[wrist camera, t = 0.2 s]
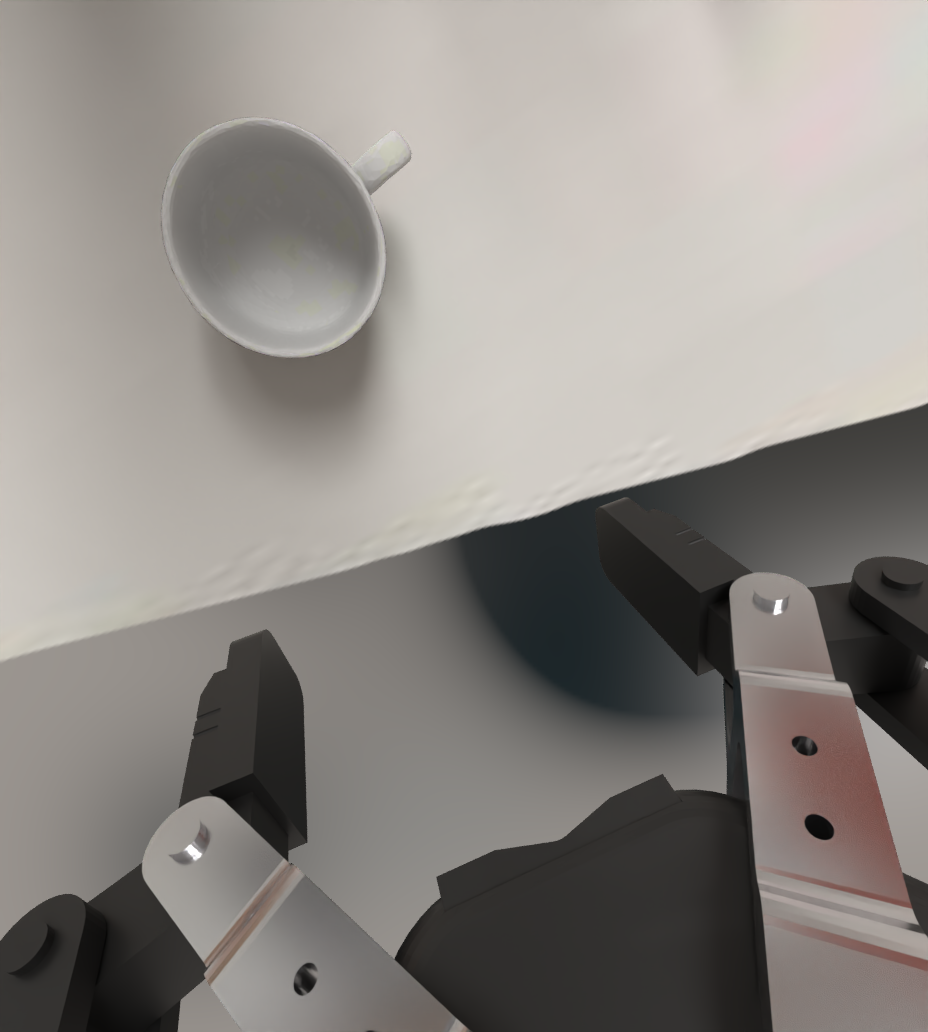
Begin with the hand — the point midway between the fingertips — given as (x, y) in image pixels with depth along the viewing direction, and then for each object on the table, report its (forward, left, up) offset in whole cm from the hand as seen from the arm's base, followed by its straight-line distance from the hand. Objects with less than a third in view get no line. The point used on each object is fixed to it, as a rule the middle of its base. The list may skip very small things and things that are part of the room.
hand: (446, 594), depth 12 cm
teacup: (-8, 0, -29) cm, 30 cm away
